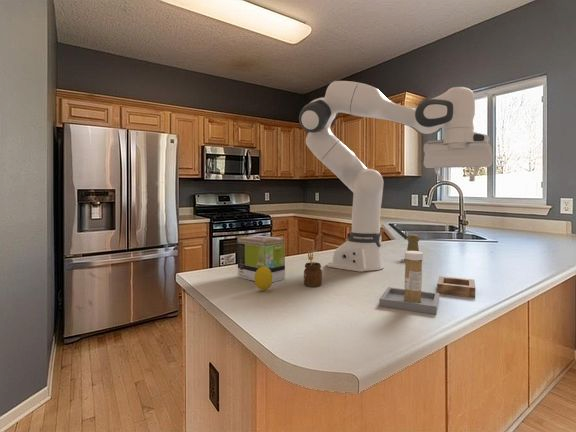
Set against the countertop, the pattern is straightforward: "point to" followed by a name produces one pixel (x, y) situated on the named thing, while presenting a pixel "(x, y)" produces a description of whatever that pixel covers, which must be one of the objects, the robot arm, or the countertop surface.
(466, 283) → the square wooden box
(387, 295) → the tray
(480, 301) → the countertop surface
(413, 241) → the olive tapered container
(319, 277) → the utensil holder
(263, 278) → the lemon
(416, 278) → the sprinkles bottle
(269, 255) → the tea box
